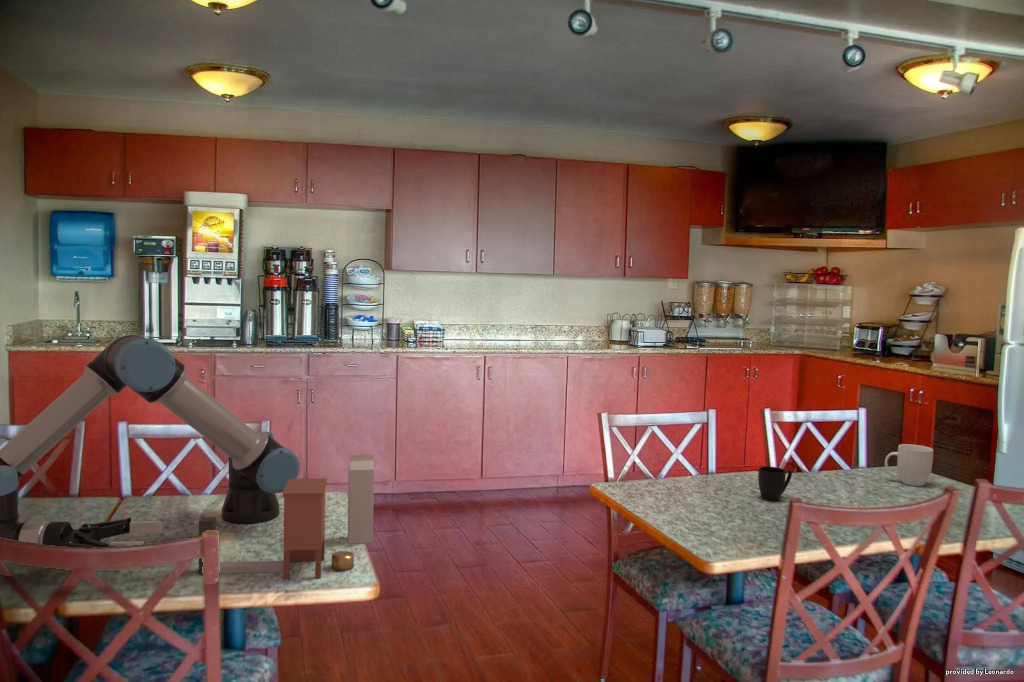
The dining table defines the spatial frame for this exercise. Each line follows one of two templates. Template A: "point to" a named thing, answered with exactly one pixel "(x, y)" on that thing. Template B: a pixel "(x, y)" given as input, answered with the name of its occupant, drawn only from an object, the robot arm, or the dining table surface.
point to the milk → (360, 498)
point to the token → (342, 561)
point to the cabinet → (304, 522)
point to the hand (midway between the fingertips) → (152, 537)
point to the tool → (238, 567)
